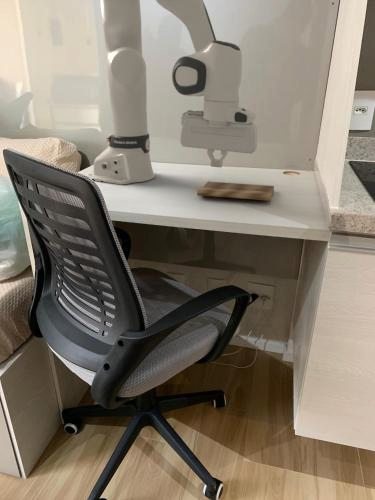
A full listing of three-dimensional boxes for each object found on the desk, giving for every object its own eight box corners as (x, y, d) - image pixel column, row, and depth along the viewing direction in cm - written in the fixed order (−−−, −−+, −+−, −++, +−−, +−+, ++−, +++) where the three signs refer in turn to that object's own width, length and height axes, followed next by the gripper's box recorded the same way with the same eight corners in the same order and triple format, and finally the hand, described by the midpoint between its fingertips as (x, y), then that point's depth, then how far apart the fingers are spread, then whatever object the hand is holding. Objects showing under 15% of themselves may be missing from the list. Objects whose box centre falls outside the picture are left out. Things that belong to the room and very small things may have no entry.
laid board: (203, 192, 117) (203, 186, 116) (207, 186, 122) (208, 181, 121) (271, 197, 112) (272, 191, 111) (273, 191, 117) (274, 185, 116)
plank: (197, 195, 110) (197, 189, 109) (202, 192, 116) (203, 187, 116) (270, 200, 105) (270, 194, 104) (271, 197, 111) (272, 192, 111)
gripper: (178, 110, 101) (176, 164, 106) (258, 117, 95) (251, 173, 101) (185, 108, 106) (183, 160, 112) (261, 114, 101) (255, 168, 107)
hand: (216, 166), depth 106 cm, fingers closed
